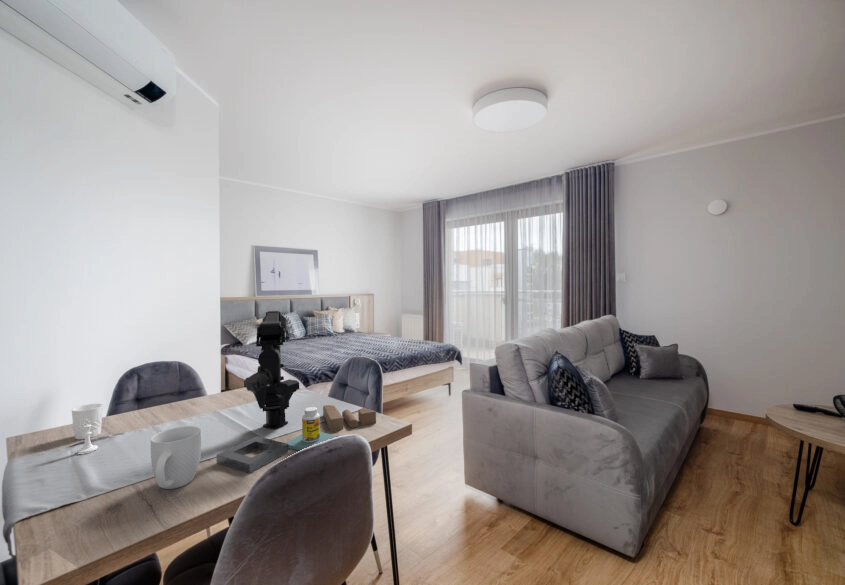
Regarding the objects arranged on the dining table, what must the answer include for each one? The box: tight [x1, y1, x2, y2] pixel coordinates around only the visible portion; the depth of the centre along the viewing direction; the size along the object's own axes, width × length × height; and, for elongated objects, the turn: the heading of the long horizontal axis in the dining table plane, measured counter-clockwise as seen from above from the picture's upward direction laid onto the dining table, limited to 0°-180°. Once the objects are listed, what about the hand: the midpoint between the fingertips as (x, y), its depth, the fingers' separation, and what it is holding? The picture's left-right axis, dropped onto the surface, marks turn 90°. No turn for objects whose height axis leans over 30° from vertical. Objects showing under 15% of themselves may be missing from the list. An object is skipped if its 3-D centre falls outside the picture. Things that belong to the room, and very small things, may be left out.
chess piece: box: [76, 419, 99, 453], centre depth 113 cm, size 5×5×10 cm
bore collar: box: [216, 435, 290, 474], centre depth 108 cm, size 14×14×2 cm
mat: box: [285, 431, 338, 451], centre depth 118 cm, size 12×12×1 cm
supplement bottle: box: [301, 406, 321, 443], centre depth 118 cm, size 6×6×10 cm
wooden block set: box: [322, 404, 377, 432], centre depth 138 cm, size 17×6×18 cm
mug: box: [150, 425, 202, 490], centre depth 92 cm, size 15×11×13 cm
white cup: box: [71, 403, 104, 440], centre depth 125 cm, size 8×8×10 cm
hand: (271, 410), depth 114 cm, fingers open, 9 cm apart
